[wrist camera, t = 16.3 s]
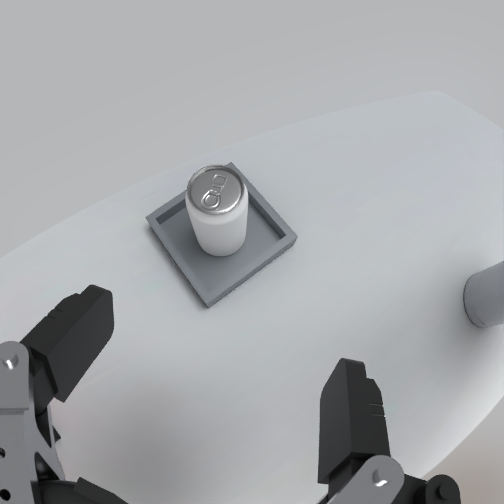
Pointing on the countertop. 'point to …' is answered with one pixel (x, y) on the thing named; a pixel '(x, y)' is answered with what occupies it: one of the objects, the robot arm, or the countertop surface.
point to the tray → (222, 267)
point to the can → (218, 209)
